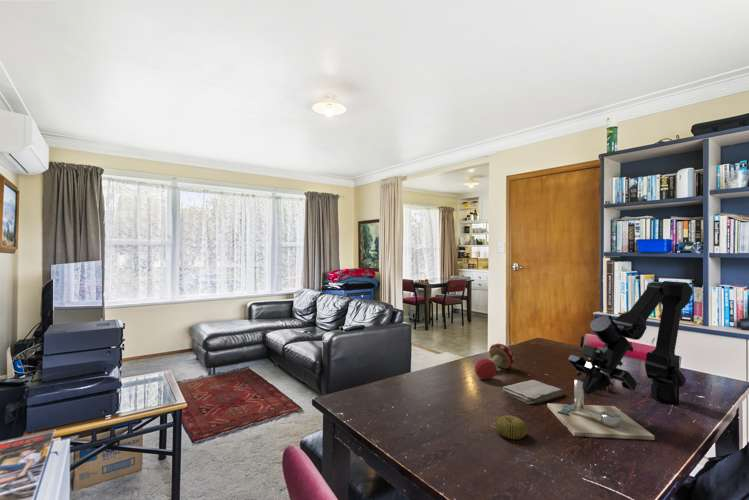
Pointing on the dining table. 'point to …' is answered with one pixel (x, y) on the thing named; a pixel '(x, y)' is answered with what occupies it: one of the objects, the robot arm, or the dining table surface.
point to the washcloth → (532, 391)
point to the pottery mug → (584, 379)
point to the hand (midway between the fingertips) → (585, 393)
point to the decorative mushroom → (501, 356)
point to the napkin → (598, 423)
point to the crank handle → (606, 417)
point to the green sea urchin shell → (511, 427)
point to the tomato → (485, 369)
